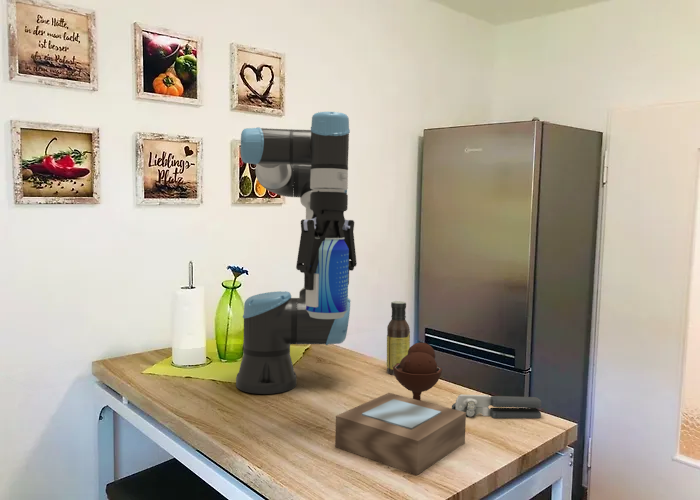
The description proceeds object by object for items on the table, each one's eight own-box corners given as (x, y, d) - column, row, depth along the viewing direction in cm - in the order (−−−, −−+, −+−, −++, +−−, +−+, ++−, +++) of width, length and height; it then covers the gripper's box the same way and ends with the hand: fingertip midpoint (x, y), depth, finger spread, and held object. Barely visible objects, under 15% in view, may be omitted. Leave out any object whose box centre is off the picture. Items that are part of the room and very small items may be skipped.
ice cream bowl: (390, 400, 136) (392, 337, 135) (438, 401, 136) (440, 339, 135) (392, 416, 126) (394, 348, 125) (444, 418, 125) (446, 350, 124)
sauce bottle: (414, 375, 157) (416, 302, 155) (396, 379, 153) (398, 304, 152) (398, 369, 162) (400, 299, 161) (381, 373, 158) (383, 301, 157)
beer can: (341, 321, 112) (343, 238, 111) (300, 318, 114) (301, 237, 113) (351, 314, 120) (353, 237, 119) (312, 311, 122) (314, 236, 121)
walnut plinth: (335, 446, 109) (335, 414, 109) (388, 420, 124) (388, 391, 123) (417, 475, 98) (418, 439, 98) (464, 442, 113) (466, 410, 112)
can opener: (454, 419, 125) (455, 397, 125) (450, 409, 132) (451, 387, 131) (543, 423, 124) (544, 400, 124) (535, 412, 131) (536, 390, 130)
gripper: (306, 188, 105) (304, 312, 106) (375, 193, 121) (373, 300, 123) (277, 189, 110) (276, 307, 111) (348, 193, 126) (346, 296, 127)
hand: (327, 303), depth 117 cm, fingers closed on beer can, 8 cm apart
